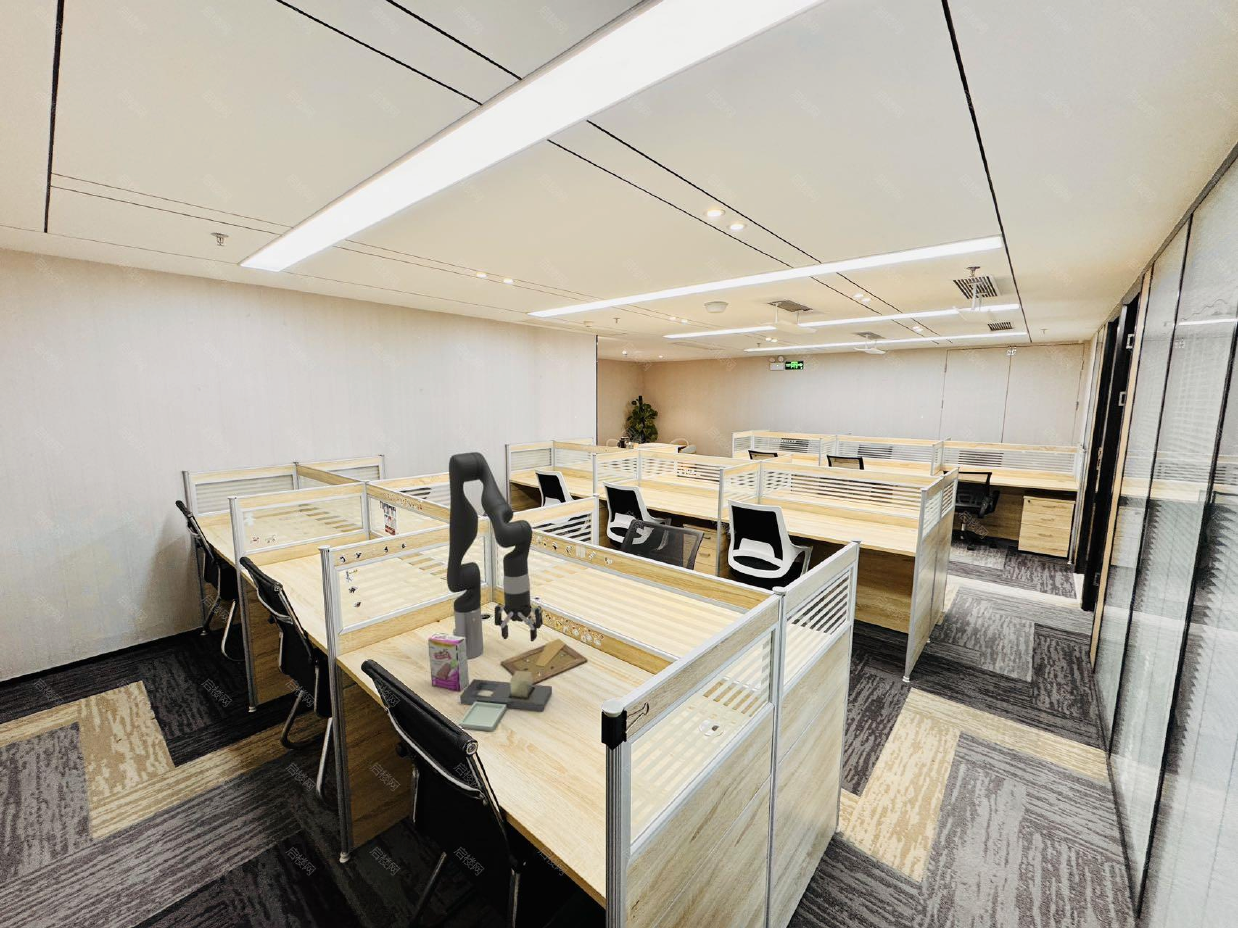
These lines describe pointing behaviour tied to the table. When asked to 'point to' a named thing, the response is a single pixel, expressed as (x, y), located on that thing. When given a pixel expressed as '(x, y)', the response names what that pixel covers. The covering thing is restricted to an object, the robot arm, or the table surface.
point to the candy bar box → (448, 661)
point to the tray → (483, 716)
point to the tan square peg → (521, 685)
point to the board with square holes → (506, 695)
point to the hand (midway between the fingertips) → (519, 639)
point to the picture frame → (545, 661)
